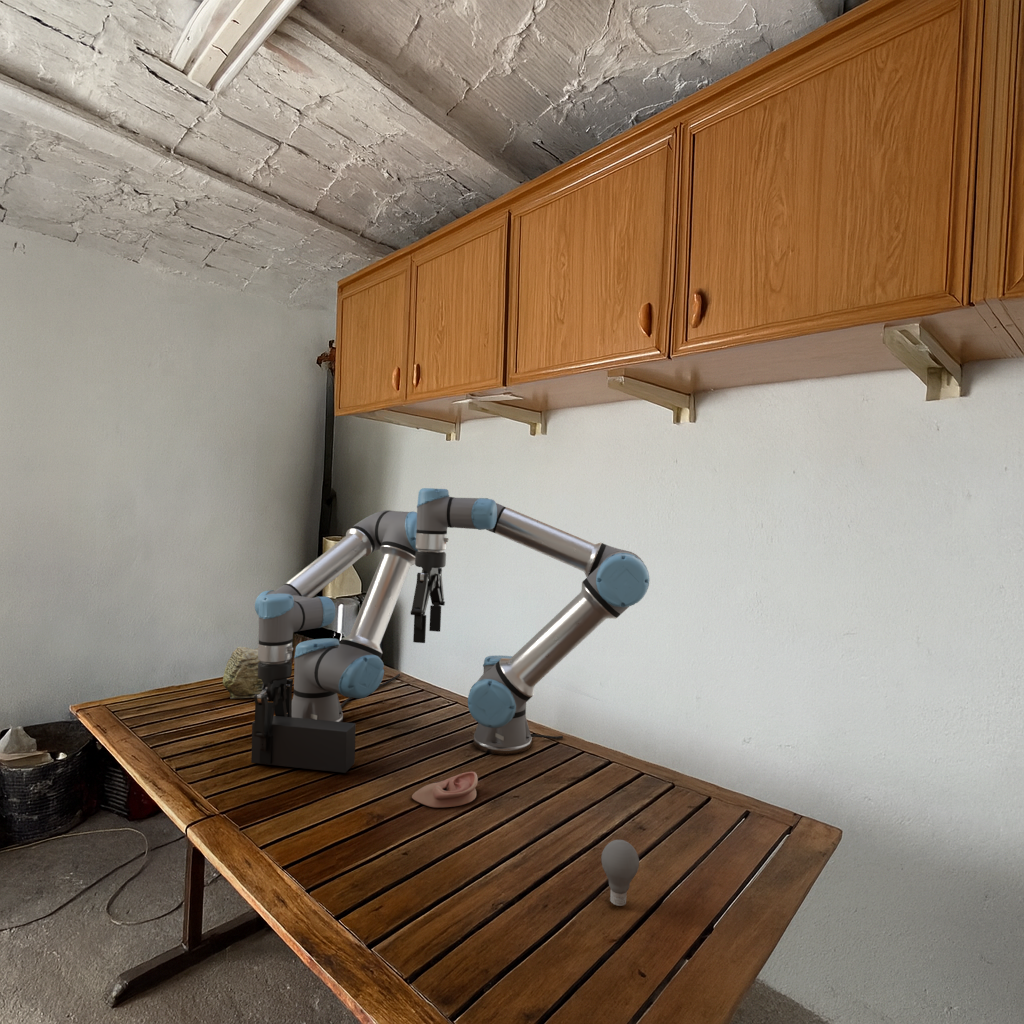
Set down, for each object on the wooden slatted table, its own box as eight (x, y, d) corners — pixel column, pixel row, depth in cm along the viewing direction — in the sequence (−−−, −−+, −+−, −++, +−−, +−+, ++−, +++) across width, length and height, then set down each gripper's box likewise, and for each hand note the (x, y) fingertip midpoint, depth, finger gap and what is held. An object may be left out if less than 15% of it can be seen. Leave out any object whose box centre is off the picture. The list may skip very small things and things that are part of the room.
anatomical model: (407, 784, 132) (425, 763, 143) (406, 803, 132) (424, 780, 143) (468, 793, 129) (482, 770, 140) (467, 812, 129) (481, 788, 141)
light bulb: (595, 892, 105) (598, 832, 105) (631, 891, 105) (634, 832, 105) (604, 915, 99) (607, 852, 99) (641, 915, 99) (644, 852, 99)
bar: (251, 762, 148) (252, 722, 147) (263, 753, 153) (264, 714, 153) (345, 773, 144) (346, 731, 144) (354, 763, 149) (355, 723, 149)
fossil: (218, 695, 195) (220, 647, 195) (278, 685, 208) (279, 640, 207) (228, 703, 189) (230, 653, 188) (289, 692, 201) (290, 645, 201)
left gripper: (269, 672, 139) (266, 776, 140) (308, 652, 158) (306, 744, 158) (237, 669, 140) (235, 772, 141) (280, 649, 159) (278, 741, 159)
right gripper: (431, 555, 143) (427, 649, 144) (457, 548, 168) (454, 627, 168) (399, 553, 144) (396, 646, 145) (430, 546, 169) (426, 625, 169)
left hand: (272, 757), depth 150 cm, fingers closed on bar, 5 cm apart
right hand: (427, 636), depth 156 cm, fingers open, 13 cm apart
